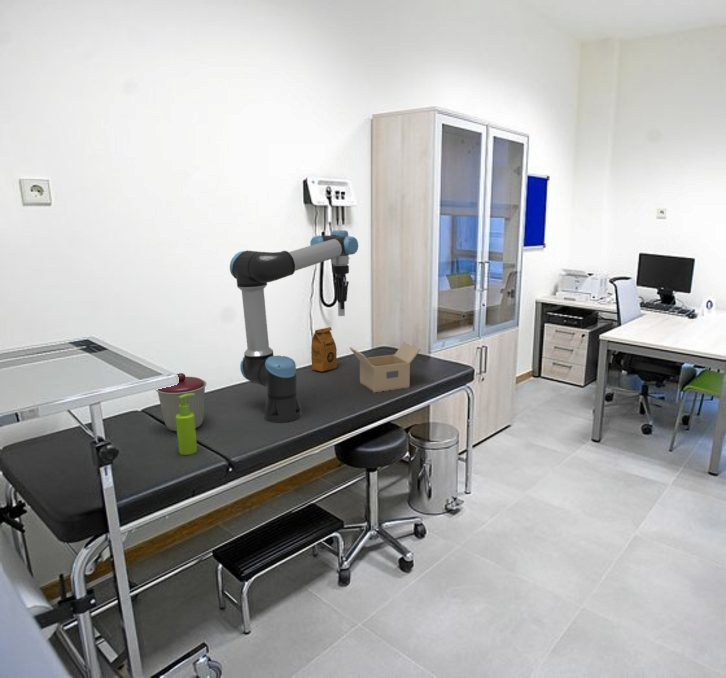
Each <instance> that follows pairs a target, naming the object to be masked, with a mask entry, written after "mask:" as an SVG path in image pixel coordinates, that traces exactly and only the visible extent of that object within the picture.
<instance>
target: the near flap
mask: <svg viewBox="0 0 726 678" xmlns="http://www.w3.org/2000/svg"><path fill="white" fill-rule="evenodd" d="M349 350H350V351H351V352H352V353H353V355H355V357H356V358H357V359H358V360H359V362H360V361H362V362H364V363H365V364H367V365H369V366H370V367H372V368H374V367H373V365H372V364H371V363H370V362H369V360H368V359H367V358H368V357H367V356H366V355H365V354H363V353H361V352H359V351H358V350H356V349H354V348H352V347H349Z"/></svg>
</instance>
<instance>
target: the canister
mask: <svg viewBox="0 0 726 678" xmlns="http://www.w3.org/2000/svg"><path fill="white" fill-rule="evenodd" d="M176 375H178V377H179V383H178V384H177V385H174V386H171V387H166V388H162V389H158V390H156V389H155V391H156V392H157V394H158V400H159V403H160V405H159V406H160V408H161V414H162V416H163V420H164V424H165V426H166V428H168V430H169V431H173V432H177V425H176V415H177V414H179V405H180V404H181V399H179V398H178V396H181V395H183V394H187V393H193V394H195V396H190V397H187V398H186V402H187V404H189V406H190V412H192V413H194V418H195V429H198V427H201V425H202V424H203V421H204V415H205V414H204V412H205V396H206V392H205V390H206V388H205V387H206V386H207V381H205V380H203V379H202V378H199V377H195V376H186V374H185V373H182V372H180V373H176Z"/></svg>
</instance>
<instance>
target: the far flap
mask: <svg viewBox="0 0 726 678" xmlns="http://www.w3.org/2000/svg"><path fill="white" fill-rule="evenodd" d="M397 349H398V350H397V351H396V352H395V353H394V354H393V355H395V356H397V357H399V358H402V359H404V360H406V361H408V362H410V364H411V363H412V361H413V360H414V359H415V358H416V356H417V355H418V354H419V353H420V351H421V348H418V347H416V346H414V345H411V344H410V343H407V342H405V341H403V343H402V344H401V345H400V347H399V348H397Z"/></svg>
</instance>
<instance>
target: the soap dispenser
mask: <svg viewBox="0 0 726 678" xmlns="http://www.w3.org/2000/svg"><path fill="white" fill-rule="evenodd" d="M190 396H195V394H193V393H187V394H183V395H181V396H178V398H179V399H181V404H180V405H179V414H177V415H176V425H177V431H176V433H177V444H178V445H177V446H178V453H179V454H180V455H183V456H189V455H193V454H195V453H197V452H198V443H197V433H196V432H197V431H196V428H195V418H194V413H192V412H190V406H189V404H187V402H186V398H187V397H190Z"/></svg>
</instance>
